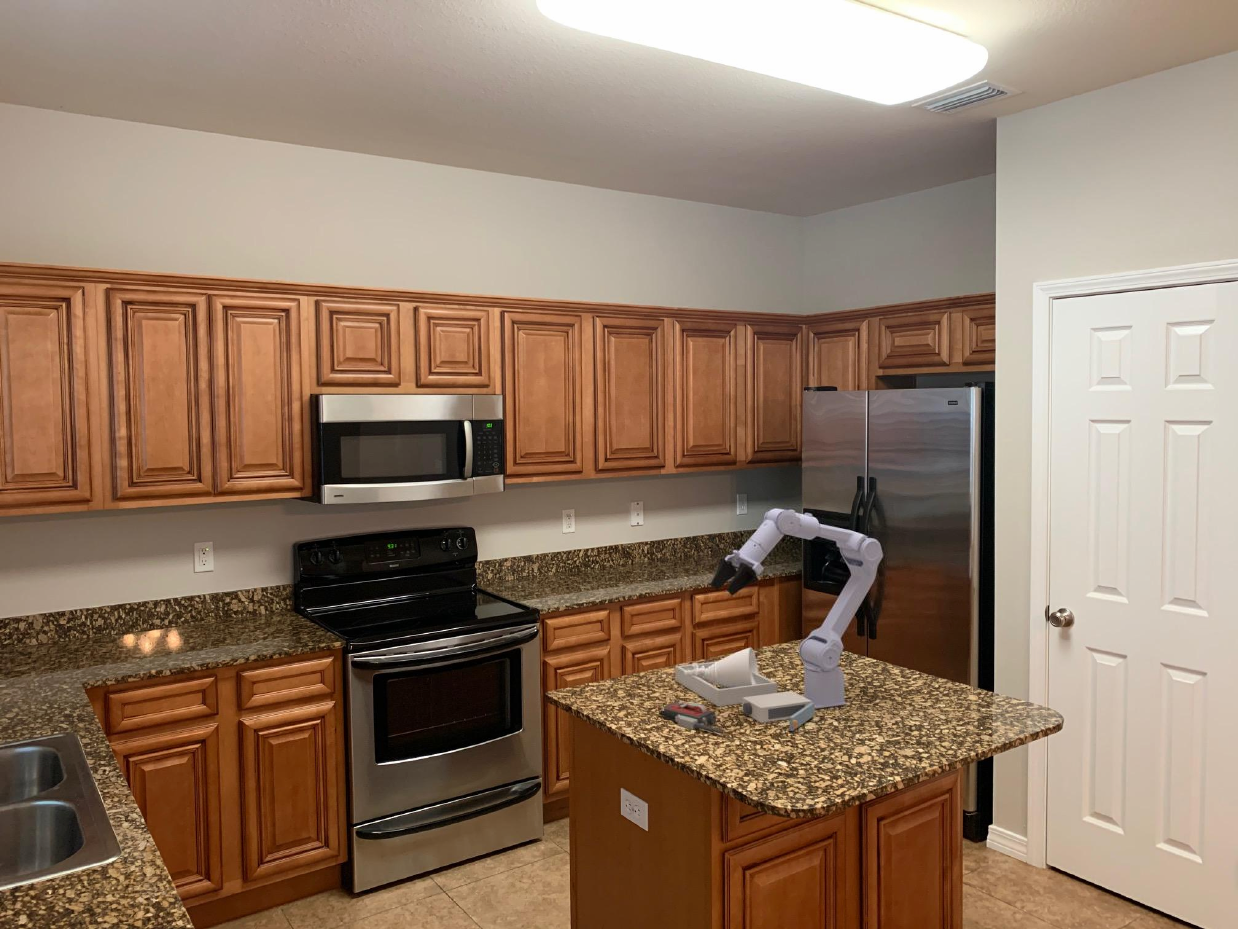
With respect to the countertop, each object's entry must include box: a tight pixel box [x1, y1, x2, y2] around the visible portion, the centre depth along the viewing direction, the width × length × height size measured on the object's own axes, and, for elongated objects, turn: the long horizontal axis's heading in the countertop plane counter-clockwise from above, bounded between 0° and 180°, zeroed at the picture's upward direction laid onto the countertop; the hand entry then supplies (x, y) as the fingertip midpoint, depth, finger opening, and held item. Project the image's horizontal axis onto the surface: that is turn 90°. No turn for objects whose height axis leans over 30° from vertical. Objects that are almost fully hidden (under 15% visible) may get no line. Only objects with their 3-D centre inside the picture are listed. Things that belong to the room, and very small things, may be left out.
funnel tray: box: [674, 660, 778, 707], centre depth 247 cm, size 17×25×4 cm
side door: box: [788, 702, 816, 732], centre depth 218 cm, size 13×2×3 cm, turn 146°
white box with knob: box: [741, 690, 812, 724], centre depth 226 cm, size 15×9×4 cm, turn 112°
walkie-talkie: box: [658, 700, 724, 735], centre depth 219 cm, size 9×4×20 cm
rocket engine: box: [684, 647, 759, 688], centre depth 245 cm, size 12×12×18 cm
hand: (721, 589), depth 222 cm, fingers open, 7 cm apart
